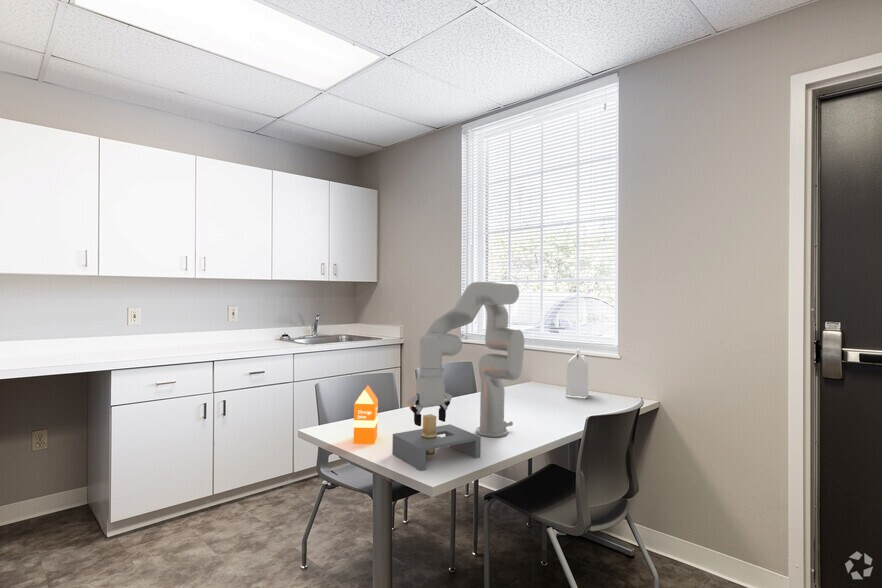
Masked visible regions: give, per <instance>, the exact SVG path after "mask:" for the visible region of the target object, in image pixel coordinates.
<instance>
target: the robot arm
mask: <svg viewBox="0 0 882 588" xmlns="http://www.w3.org/2000/svg"><path fill="white" fill-rule="evenodd" d="M519 290H520V289H519V287H518V285H517V284H515V282H512V281H511V282H508V281H507V282H504V281H502V282H501V281H474V282H471V283H469V284H468V285H467V287H466V288H465V290H464V291H463V293H462V294H461V297H460V298H459V299H458V301H457V302H456V304H455V305H454V307H453V308H452V309H450V310H448V311H447V312H446V313H444V314H443V315H440V316H439V317H438V318H437V319H435V320H434V321H433V322H432V323H431V325H430V326H429V328H428V329H427V331H426V332H425V335H423V336H421V337H420V339H419V375H418V376H417V377H416V380H415V384H414V386H415V387H414V396H413V397H411V398H410V399H408V400H407V401H406V402H407V405H408V407H409V409H410V411H412V413H413V417H414V418H413V423H414V425H415V426H418V427H421V426H422V414H421V412H422V410H423V409H425V408H433V407H438V406H439V408H438V420H439V421H441V422H443V423H444V422H446V417H447V414H446V413H447V410H448V407H449V406H450V404H451V401H452V398H453V395H452V394H450V393H447V392H446V387H445V380H444V379H445V378H444V376H443V375H442V374H443V373H444V371H445V368H444V367H443V357H444V356H447V357H451V356H452V357H453V356H456V355H458V354H459V353H460V352H461V351H462V348H463V342H462V340H461V337H460V336H458V335H455V334H454V333H452V334H451V333H449V332H451V331H453V330H455V329H458V328H461V327H465V326H467V325H469V324H471V323H473V321H474V320H475V318H476V317H477V316H478V314H479V312H480V310H481V309H482V307H483V306H484V308H485V311H486V326H485V336H484V338H485V340H484V343H485V347H486V348H487V349H488V350H492V351H499V352H500V351H501V352H506V353H507V354H501V353H493V352H492V353H490V352H489V353H484V354H483V355H481V357H480V358H479V361H478V372H479V379H480V398H479V399H480V402H479V403H480V408H479V410H480V411H479V426H478V427H477V428H476V429H475V433H476V435H478V436H479V435H480V436H482V437H488V438H501V437H506V436H507V435H508V434H509V431H508V429H507V427H511V426H513V425H514V424H513V422H514V421H512V420H509V421H506V420H505V393H506V392H505V386H504V383H503V381H502V380H507V381H516V380H518V379H520V376H521V374H522V371H523V363H524V362H523V361H524V353H525V352H524V351H525V336H524V333H523V331H522V330H521V329H519V328H517V327H509V313H508V309H507V308H506V305H513V304H515V303H516V302H517V301H518V300H519V297H520V291H519ZM414 405H415V406H414Z"/></svg>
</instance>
